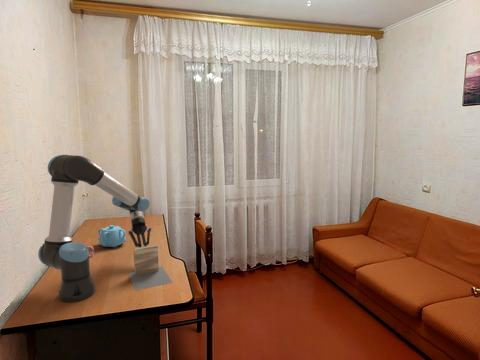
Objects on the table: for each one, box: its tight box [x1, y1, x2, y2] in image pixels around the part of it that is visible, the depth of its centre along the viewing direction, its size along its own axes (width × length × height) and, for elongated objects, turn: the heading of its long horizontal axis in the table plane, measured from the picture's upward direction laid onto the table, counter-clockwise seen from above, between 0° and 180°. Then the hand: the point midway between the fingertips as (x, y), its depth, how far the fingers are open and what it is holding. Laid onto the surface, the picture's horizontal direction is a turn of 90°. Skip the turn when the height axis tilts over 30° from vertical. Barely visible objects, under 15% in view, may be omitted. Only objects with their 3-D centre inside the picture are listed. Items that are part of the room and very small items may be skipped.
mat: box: [128, 265, 173, 291], centre depth 162 cm, size 22×18×1 cm
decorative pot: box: [97, 224, 127, 248], centre depth 211 cm, size 16×16×14 cm
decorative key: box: [86, 245, 95, 258], centre depth 190 cm, size 7×1×20 cm
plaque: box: [133, 244, 160, 275], centre depth 167 cm, size 2×12×14 cm, turn 117°
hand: (144, 256), depth 174 cm, fingers closed
